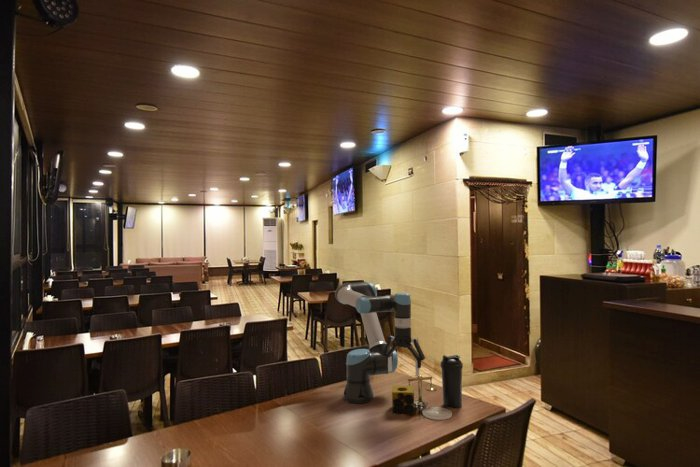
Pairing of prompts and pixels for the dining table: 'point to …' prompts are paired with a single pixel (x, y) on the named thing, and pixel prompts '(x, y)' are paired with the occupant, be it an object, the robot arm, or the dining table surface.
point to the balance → (421, 386)
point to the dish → (437, 413)
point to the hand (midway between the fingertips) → (403, 373)
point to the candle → (403, 400)
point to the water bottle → (452, 381)
